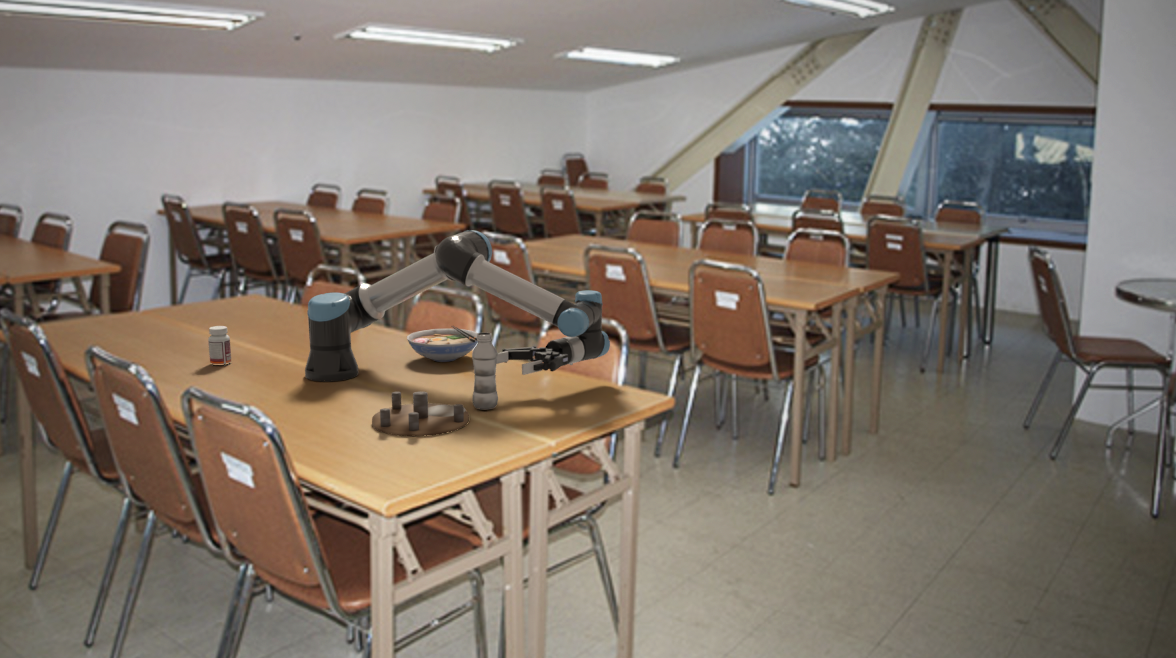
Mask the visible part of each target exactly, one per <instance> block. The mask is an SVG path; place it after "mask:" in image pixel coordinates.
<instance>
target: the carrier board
mask: <svg viewBox="0 0 1176 658" xmlns="http://www.w3.org/2000/svg"><path fill="white" fill-rule="evenodd" d="M428 395H429V394H428V392H427V391H415V392H413V393H412V402H413V403H407V404H402V392H401V391H393V392H391V407H388V408H381V409H379V411H377V412H376V413H375V414H373V416H372V417H371V423H372V424H371V425H372V427H373V429H374V430H375V431H378V432H380V433H383V434H387V435H392V436H397V435H399V437H428V436H427V435H432V436H437V435H436V434H439V435H443V434H442V433H444V434H448V433H447V432H449V433H452V432H455V430H456V431H458V430H461V429H462V427H463V428H465V425H466V426H467V425H468V424H469V423H468V422H470V412H468V410H466V408H465V407H464V404H461V403H455V404H448V403H447V404H446V403H435V402H429V398H428V397H429V396H428ZM467 423H468V424H467ZM460 428H461V429H460ZM457 429H458V430H457ZM451 431H452V432H451ZM424 435H426V436H424Z"/></svg>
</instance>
